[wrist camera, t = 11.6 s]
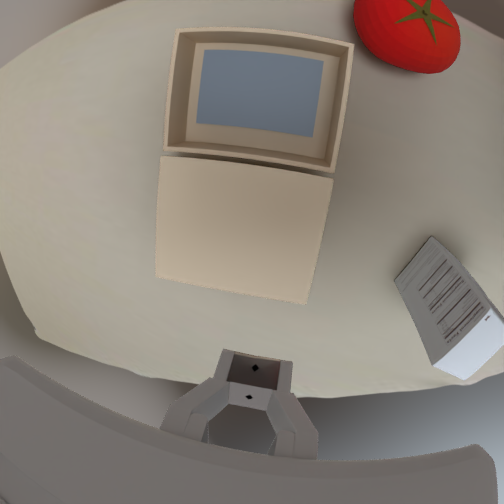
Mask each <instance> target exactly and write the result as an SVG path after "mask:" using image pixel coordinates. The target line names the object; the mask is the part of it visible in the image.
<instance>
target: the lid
mask: <svg viewBox="0 0 504 504" xmlns="http://www.w3.org/2000/svg"><path fill="white" fill-rule="evenodd" d="M333 182H334V179H332V178H327V177H322V176H317V175H312V174H307V173H301V172H295V171H290V170H284V169H278V168H271V167H265V166H258V165H251V164H243V163H236V162H227V161H219V160H209V159H199V158H188V157H176V156H161V159H160V170H159V182H158V197H157V217H156V277H158V278H163V279H168V280H172V281H177V282H182V283H187V284H192V285H197V286H202V287H207V288H212V289H217V290H223V291H228V292H233V293H239V294H244V295H250V296H256V297H262V298H267V299H273V300H279V301H286V302H292V303H298V304H305V305H306V303H307V300H308V296H309V292H310V288H311V284H312V280H313V276H314V272H315V268H316V263H317V259H318V255H319V250H320V246H321V241H322V237H323V232H324V228H325V223H326V218H327V213H328V208H329V203H330V198H331V193H332V187H333Z"/></svg>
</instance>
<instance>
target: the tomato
mask: <svg viewBox="0 0 504 504" xmlns="http://www.w3.org/2000/svg"><path fill="white" fill-rule="evenodd" d="M353 17H354V23H355V27H356V29H357V32H358V35H359V37H360V38H361V40H362V42H363V43H364V45H365V46H366V47H367V48H368V49H369V51H370V52H372V53H373V54H374V55H375V56H376V57H378V58H379V59H381V60H383V61H385V62H387V63H389V64H392V65H394V66H397V67H400V68H403V69H406V70H410V71H414V72H418V73H426V74H433V73H439V72H442V71H444V70H446V69H447V68H449V67H450V66H451V65H452V64H453V62H454V61H455V60H456V58H457V55H458V53H459V50H460V44H461V43H460V31H459V26H458V24H457V21H456V19H455V18H454V16H453V14H452V13H451V12H450V10H449V9H448V8H447V6H446V5H445V4H444V3H443V2H442V1H441V0H355V3H354V13H353Z"/></svg>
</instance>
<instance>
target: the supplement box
mask: <svg viewBox="0 0 504 504" xmlns="http://www.w3.org/2000/svg"><path fill="white" fill-rule="evenodd" d="M394 282H395V284H396V286H397V288H398V290H399V292H400V294H401V296H402V298H403V300H404V302H405V304H406V306H407V308H408V310H409V312H410V315H411V317H412V319H413V321H414V323H415V326H416V328H417V330H418V333H419V335H420V337H421V340H422V342H423V344H424V347H425V349H426V352H427V354H428V357H429V359H430V362H431V365H432V366H434V367H436V368H438V369H441V370H443V371H445V372H447V373H449V374H451V375H454V376H456V377H458V378H460V379H462V380H466V379H467V378H468V377H470V376H471V375H472V374H473V373H474V372H476V371H477V370H478V369H479V368H480V367H481V366H482V365H483V364H484V363H485V362H486V361H487V360H488V359H490V358H491V357H492V356H493V355H494V354H495V353H496V352H497V351H498V350H499V349H500V348H501V347H502V346H503V345H504V318H503V316H502V315H501V313H500V312H499V311H498V309H497V308H496V307H495V306H494V304H493V303H492V302H491V301H490V299H489V298H488V297H487V295H486V294H485V292H484V291H483V289H482V288H481V287H480V286H479V284H478V283H477V282H476V281H475V279H474V278H473V277H472V276H471V274H470V273H469V272H468V271H467V270H466V269H465V267H464V266H463V265H462V264H461V262H460V261H459V260H458V259H457V258H456V257H455V256H454V255H453V254H452V253H450V252H449V251H448V250H447V249H446V248H445V247H444V246H443V245H442V244H441V243H440V242H438V241H437V240H436V239H435V238H434V237H432V236H431V237H430V238H429V239H428V241H427V242H426V243H425V245H424V246H423V247H422V248H421V250H420V251H419V252H418V253H417V255H416V256H415V257H414V258H413V260H412V261H411V262H410V263H409V264H408V266H407V267H406V268H405V269H404V270H403V271H402V273H401V274H400V275H399V276H398V277H397V278H396V279H395V281H394Z"/></svg>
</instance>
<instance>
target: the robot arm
mask: <svg viewBox="0 0 504 504" xmlns="http://www.w3.org/2000/svg"><path fill="white" fill-rule="evenodd" d="M292 367H293V363H292V362H291V361H285V360H280V359H274V358H267V357H261V356H254V355H249V354H245V353H240V352H236V351H231V350H227V349H223V351H222V353H221V356H220V359H219V362H218V365H217V368H216V371H215V374H214V377H213V378H208V379H207V380H205V381H204V382H203V383H201V384H200V385H198V386H197V387H195V388H194V389H192V390H191V391H189V392H188V393H186V394H185V395H184V396H182V397H181V398H179V399H177V400H176V401H174V402H173V403H171V404H170V406H169V408H168V410H167V413H166V415H165V417H164V420H163V422H162V424H161V427H160V429H158V428H155V427H152V426H149V425H147V424H144V423H141V422H139V421H136V420H134V419H131V418H129V417H126V416H124V415H122V414H119V413H117V412H115V411H112V410H110V409H108V408H106V407H103V406H101V405H99V404H97V403H95V402H93V401H91V400H89V399H87V398H85V397H83V396H81V395H79V394H77V393H76V392H74V391H72V390H70V389H68V388H66V387H65V386H63V385H61V384H60V383H58V382H56V381H54V380H53V379H51V378H49V377H48V376H46V375H45V374H43V373H41V372H40V371H38V370H37V369H35V368H34V367H32V366H31V365H29V364H28V363H26V362H25V361H24V360H22V359H21V358H19V357H18V356H14V355H13V356H8V357H5V358H2V359H0V504H498V492H497V477H496V469H495V464H494V461H493V459H492V458H491V456H490V455H489V454H488V453H487V452H486V451H485V450H484V449H483V448H482V447H481V446H480V445H478V444H471V445H468V446H464V447H460V448H456V449H451V450H446V451H441V452H436V453H430V454H425V455H418V456H411V457H402V458H392V459H379V460H357V461H356V460H354V461H338V460H317V451H318V432H317V430H316V429H315V427H314V426H313V424H312V422H311V421H310V419H309V418H308V416H307V414H306V413H305V411H304V410H303V408H302V407H301V405H300V403H299V401H298V400H297V398H296V397H295V395H294V393H290V389H291V378H292ZM228 404H233V405H239V406H244V407H250V408H255V409H260V410H265V411H266V413H267V415H268V417H269V419H270V422H271V424H272V426H273V428H274V431H275V433H276V437H275V439H274V441H273V443H272V445H271V446H270V449H269V450H268V454H267V455H263V454H257V453H250V452H245V451H240V450H235V449H230V448H225V447H221V446H217V445H212V444H208V440H209V435H208V421H210V420H211V419H212V418H213V417H214V416H215V415H216V414H218V413H219V412H220V411H221V410H222V409H223V408H224V407H226V406H227V405H228Z"/></svg>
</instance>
